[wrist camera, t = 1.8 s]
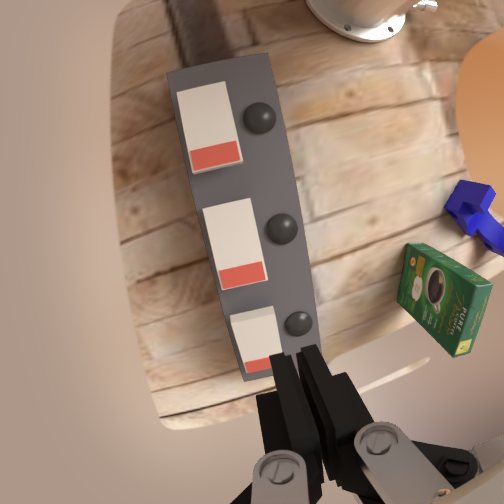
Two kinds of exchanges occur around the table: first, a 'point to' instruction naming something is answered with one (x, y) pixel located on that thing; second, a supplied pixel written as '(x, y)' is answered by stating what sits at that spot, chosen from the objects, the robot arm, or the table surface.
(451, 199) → the blue piece
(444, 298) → the coffee box
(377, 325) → the table surface
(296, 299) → the rocker switch panel
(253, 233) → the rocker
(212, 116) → the rocker
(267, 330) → the rocker
